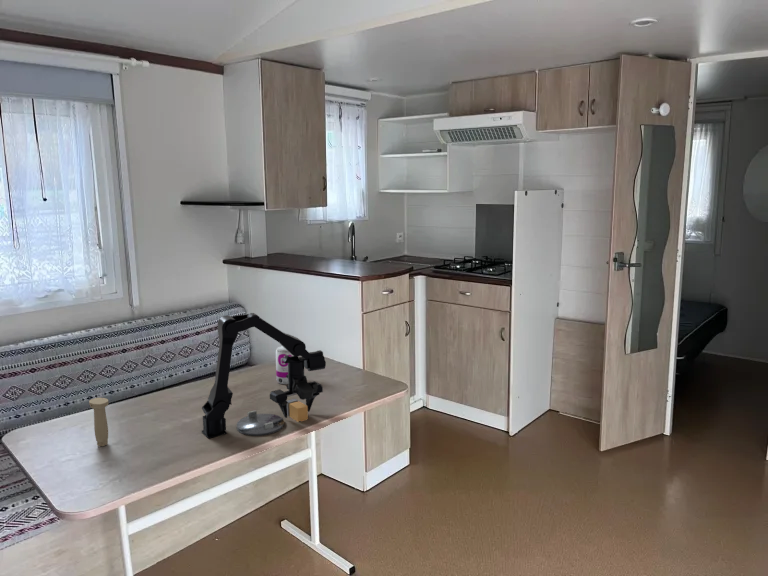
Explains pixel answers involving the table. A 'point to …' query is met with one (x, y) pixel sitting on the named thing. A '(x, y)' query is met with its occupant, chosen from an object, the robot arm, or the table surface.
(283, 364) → the supplement can
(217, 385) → the robot arm
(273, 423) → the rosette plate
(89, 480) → the table surface
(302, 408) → the tan and grey block
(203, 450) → the table surface
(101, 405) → the handle
